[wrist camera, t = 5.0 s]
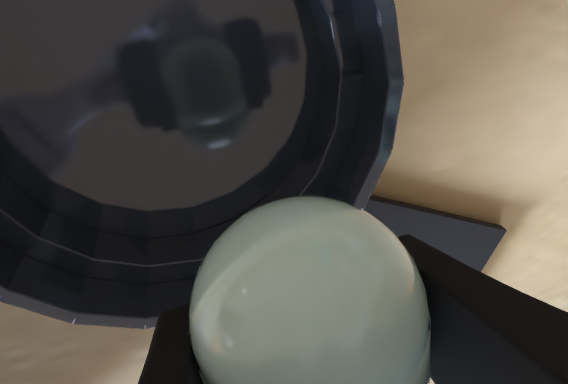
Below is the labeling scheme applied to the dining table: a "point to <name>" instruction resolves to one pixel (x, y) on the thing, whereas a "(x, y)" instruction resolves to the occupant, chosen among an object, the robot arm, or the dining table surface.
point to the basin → (175, 136)
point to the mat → (440, 230)
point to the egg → (309, 300)
